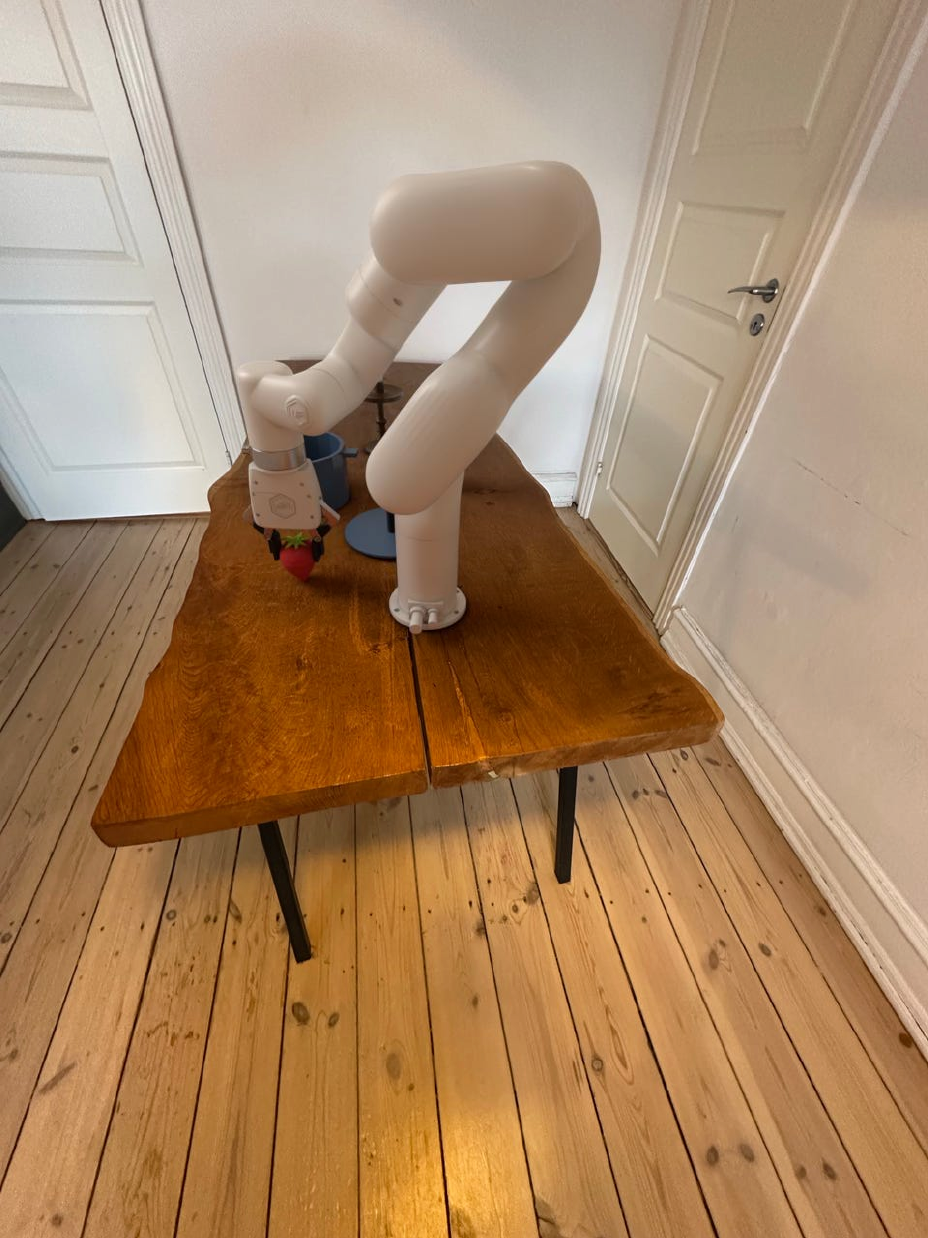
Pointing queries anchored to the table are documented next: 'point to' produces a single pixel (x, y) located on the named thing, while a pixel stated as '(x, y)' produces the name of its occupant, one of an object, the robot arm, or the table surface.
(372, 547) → the lid
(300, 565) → the strawberry
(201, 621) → the table surface
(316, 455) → the pot
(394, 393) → the candlestick
